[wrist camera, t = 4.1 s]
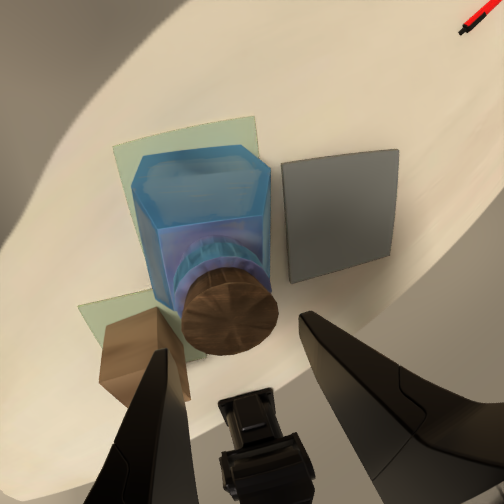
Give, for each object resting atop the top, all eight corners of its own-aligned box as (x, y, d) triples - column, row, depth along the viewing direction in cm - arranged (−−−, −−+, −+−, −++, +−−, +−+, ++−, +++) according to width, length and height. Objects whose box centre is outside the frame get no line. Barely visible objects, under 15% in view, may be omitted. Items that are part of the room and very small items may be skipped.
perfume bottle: (240, 144, 19) (331, 221, 9) (243, 231, 22) (311, 361, 12) (142, 155, 17) (107, 252, 7) (156, 243, 20) (158, 391, 10)
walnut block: (183, 344, 26) (191, 399, 21) (136, 360, 26) (136, 415, 21) (156, 306, 23) (158, 364, 18) (106, 325, 23) (98, 382, 18)
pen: (454, 29, 17) (463, 29, 16) (508, -18, 13) (514, -18, 12) (458, 37, 17) (467, 37, 16) (511, -12, 14) (517, -12, 13)
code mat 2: (206, 356, 28) (206, 357, 27) (119, 373, 26) (119, 374, 26) (181, 282, 23) (181, 283, 23) (77, 305, 21) (77, 307, 21)
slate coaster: (387, 253, 27) (389, 255, 27) (289, 281, 25) (291, 283, 25) (396, 148, 22) (399, 150, 21) (280, 163, 20) (282, 164, 20)
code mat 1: (267, 238, 23) (268, 239, 23) (148, 266, 21) (148, 267, 21) (253, 115, 18) (254, 116, 18) (112, 146, 17) (112, 146, 16)
